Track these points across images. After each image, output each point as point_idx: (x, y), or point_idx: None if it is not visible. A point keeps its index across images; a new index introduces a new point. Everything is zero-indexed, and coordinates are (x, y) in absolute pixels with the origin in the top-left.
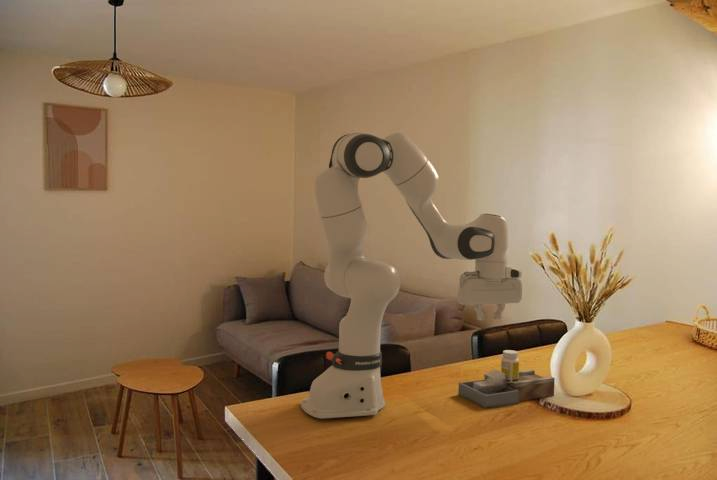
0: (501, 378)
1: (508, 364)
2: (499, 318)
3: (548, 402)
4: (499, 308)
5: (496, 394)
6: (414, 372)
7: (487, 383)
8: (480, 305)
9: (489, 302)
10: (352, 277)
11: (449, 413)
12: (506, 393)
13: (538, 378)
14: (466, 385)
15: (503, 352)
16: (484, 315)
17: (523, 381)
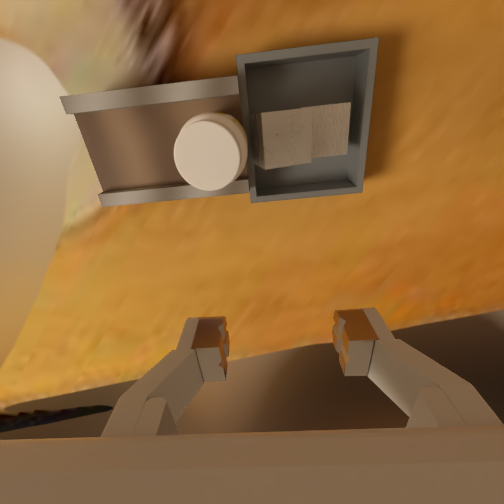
0: (273, 111)
1: (236, 124)
2: (201, 318)
3: (140, 41)
4: (171, 404)
5: (332, 43)
6: None
7: (313, 129)
8: (465, 420)
9: (374, 451)
10: None
11: (485, 41)
12: (288, 49)
13: (110, 145)
14: (359, 162)
15: (239, 165)
16: (351, 333)
17: (195, 89)
